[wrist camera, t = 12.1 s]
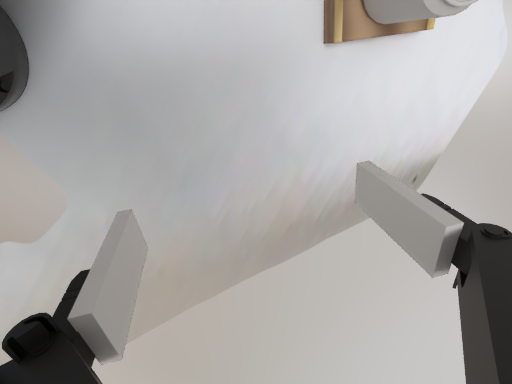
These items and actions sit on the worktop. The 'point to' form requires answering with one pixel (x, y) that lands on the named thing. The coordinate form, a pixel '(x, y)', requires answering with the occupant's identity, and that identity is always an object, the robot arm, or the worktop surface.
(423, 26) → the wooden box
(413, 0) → the can
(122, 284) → the robot arm
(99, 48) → the worktop surface
